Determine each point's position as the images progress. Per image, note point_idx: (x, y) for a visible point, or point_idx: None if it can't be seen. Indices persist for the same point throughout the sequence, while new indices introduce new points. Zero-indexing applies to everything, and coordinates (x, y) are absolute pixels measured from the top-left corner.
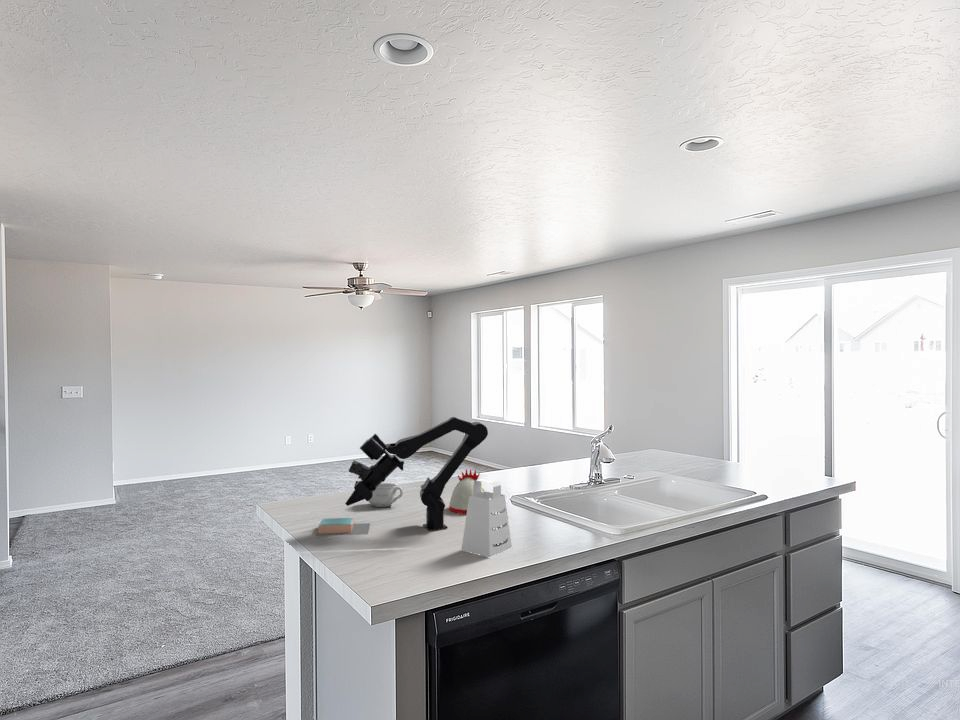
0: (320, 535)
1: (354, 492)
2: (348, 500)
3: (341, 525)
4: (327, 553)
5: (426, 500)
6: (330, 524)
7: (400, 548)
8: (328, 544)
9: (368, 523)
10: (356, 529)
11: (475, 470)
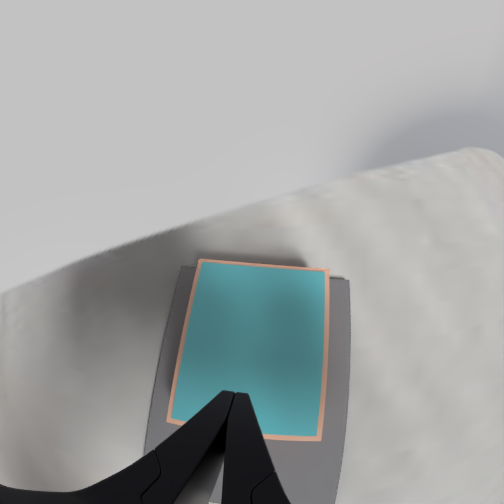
0: (178, 285)
1: (97, 490)
2: (193, 419)
3: (176, 371)
4: (26, 305)
5: None
6: (193, 313)
7: None
8: (86, 315)
9: (332, 501)
10: None
11: None
